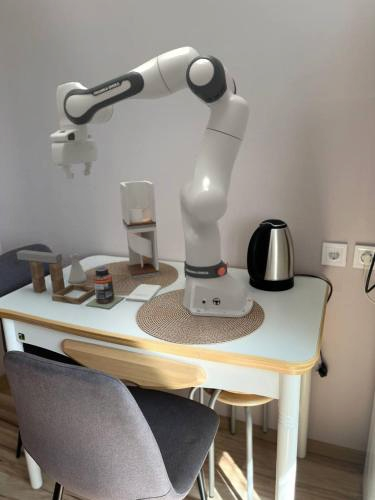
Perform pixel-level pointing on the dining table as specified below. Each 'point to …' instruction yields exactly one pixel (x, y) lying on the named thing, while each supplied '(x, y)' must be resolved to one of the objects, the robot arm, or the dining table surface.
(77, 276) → the flask
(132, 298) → the external hard drive
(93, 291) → the holder
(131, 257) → the candle lantern
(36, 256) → the grey rectangular bar
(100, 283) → the supplement bottle
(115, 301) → the mat
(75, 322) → the dining table surface
